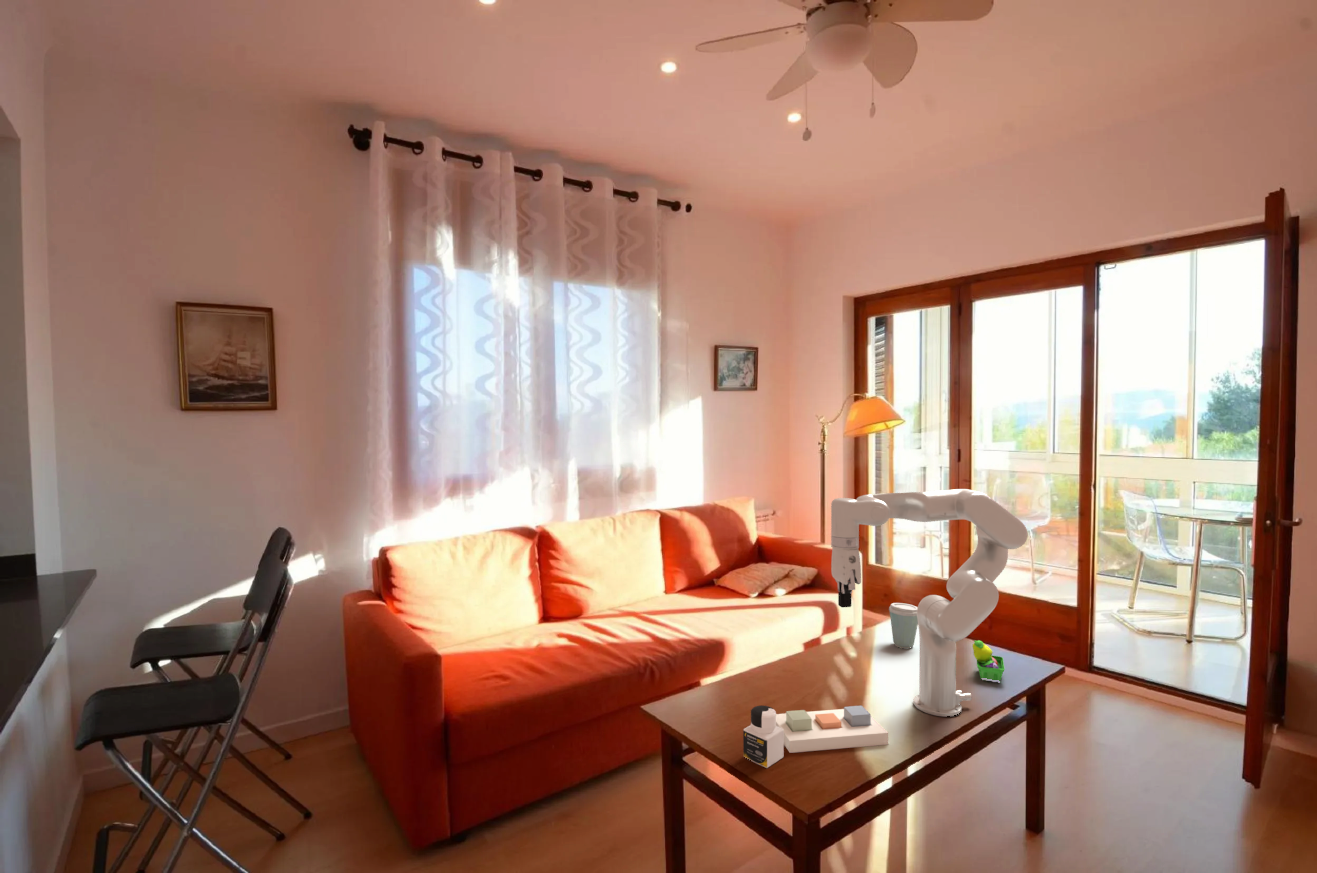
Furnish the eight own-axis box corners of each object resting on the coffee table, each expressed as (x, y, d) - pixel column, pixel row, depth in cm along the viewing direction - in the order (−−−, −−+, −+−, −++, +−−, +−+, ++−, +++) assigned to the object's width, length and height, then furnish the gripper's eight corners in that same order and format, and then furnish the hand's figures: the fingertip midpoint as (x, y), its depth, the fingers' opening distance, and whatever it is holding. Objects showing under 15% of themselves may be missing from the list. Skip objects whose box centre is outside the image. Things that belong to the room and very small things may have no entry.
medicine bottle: (742, 757, 154) (742, 709, 153) (760, 746, 159) (760, 699, 158) (766, 769, 149) (766, 718, 148) (784, 757, 154) (784, 708, 153)
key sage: (804, 724, 166) (804, 709, 166) (811, 734, 161) (811, 718, 161) (786, 726, 165) (786, 711, 165) (792, 735, 160) (792, 720, 160)
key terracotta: (833, 727, 167) (833, 713, 167) (841, 737, 162) (841, 722, 162) (815, 729, 167) (815, 714, 166) (822, 738, 162) (822, 723, 162)
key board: (862, 718, 173) (862, 707, 173) (888, 744, 159) (888, 732, 159) (771, 725, 170) (771, 714, 169) (789, 752, 156) (789, 740, 156)
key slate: (861, 720, 168) (861, 705, 168) (870, 729, 163) (870, 714, 163) (843, 721, 168) (843, 706, 168) (852, 730, 163) (852, 715, 163)
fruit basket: (1004, 686, 193) (1005, 649, 193) (972, 681, 197) (972, 645, 197) (1002, 672, 204) (1003, 637, 203) (972, 667, 207) (972, 633, 207)
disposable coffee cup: (898, 638, 235) (898, 598, 234) (926, 646, 227) (926, 605, 226) (882, 645, 228) (883, 604, 228) (911, 654, 220) (911, 611, 219)
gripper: (869, 547, 172) (869, 613, 172) (845, 536, 186) (845, 598, 187) (843, 548, 171) (843, 615, 171) (821, 537, 185) (821, 599, 186)
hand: (844, 606), depth 179 cm, fingers closed
